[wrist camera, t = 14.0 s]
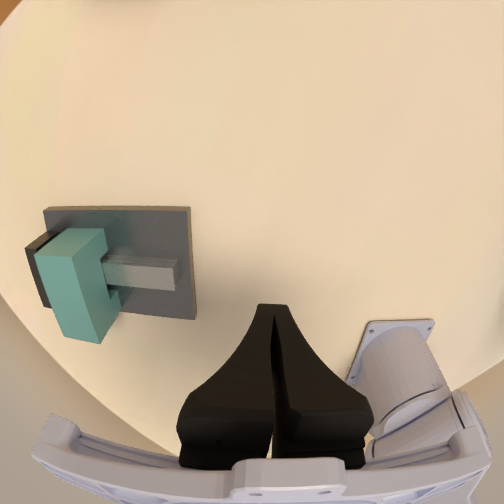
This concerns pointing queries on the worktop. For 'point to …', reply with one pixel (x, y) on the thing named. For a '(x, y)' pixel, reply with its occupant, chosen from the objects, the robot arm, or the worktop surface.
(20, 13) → the worktop surface
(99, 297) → the block
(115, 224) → the rail base
